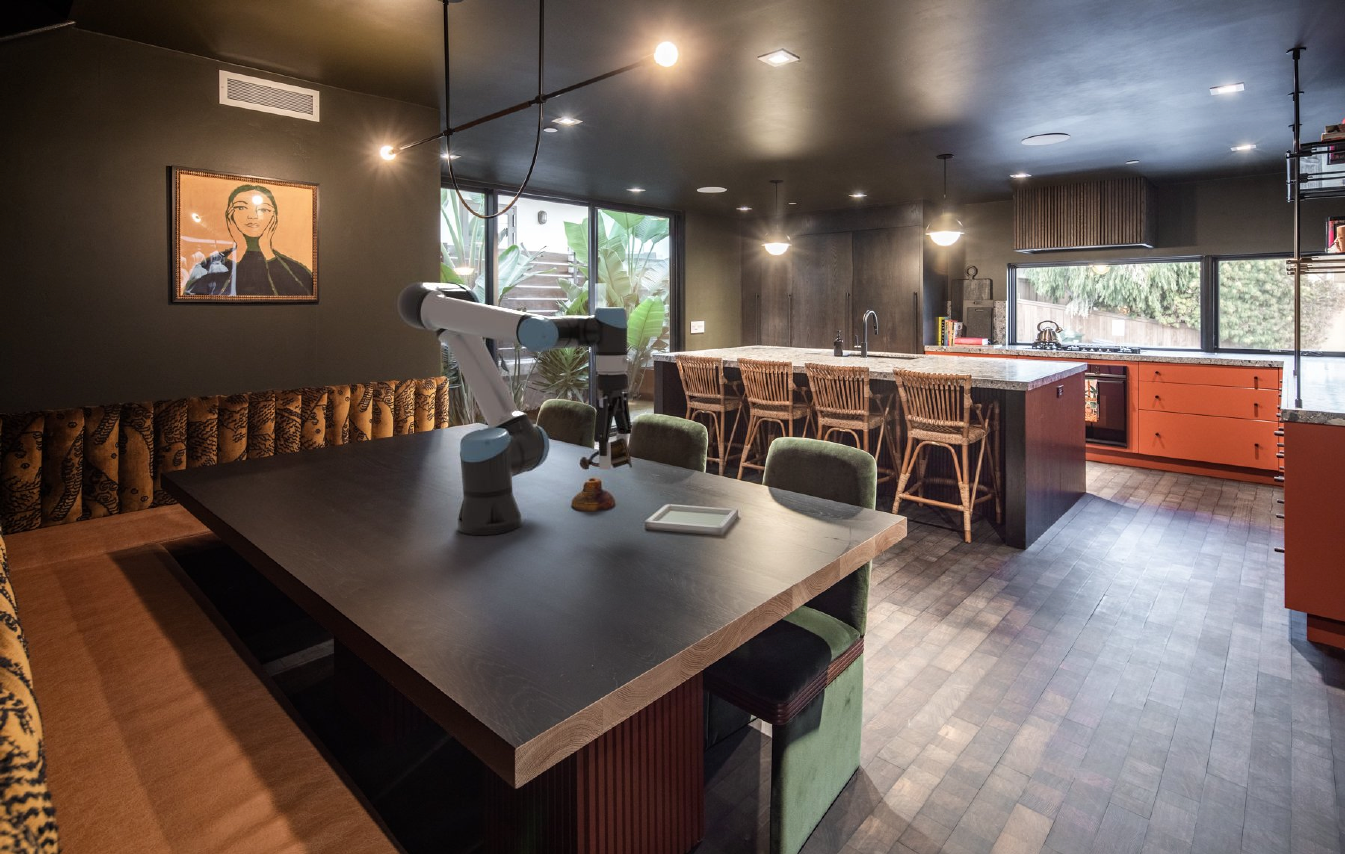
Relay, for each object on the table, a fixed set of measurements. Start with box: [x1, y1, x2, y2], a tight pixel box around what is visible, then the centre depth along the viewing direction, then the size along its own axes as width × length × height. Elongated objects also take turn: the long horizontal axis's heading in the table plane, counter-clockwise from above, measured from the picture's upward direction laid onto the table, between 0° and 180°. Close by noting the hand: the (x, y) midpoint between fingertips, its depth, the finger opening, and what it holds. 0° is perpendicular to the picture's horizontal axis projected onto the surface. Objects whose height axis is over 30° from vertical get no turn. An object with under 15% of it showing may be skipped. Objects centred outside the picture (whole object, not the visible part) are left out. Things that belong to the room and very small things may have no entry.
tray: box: [644, 503, 739, 536], centre depth 174 cm, size 19×16×2 cm
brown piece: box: [579, 438, 633, 471], centre depth 173 cm, size 7×13×10 cm
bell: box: [571, 477, 616, 512], centre depth 192 cm, size 12×12×7 cm
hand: (614, 464), depth 173 cm, fingers closed on brown piece, 10 cm apart
